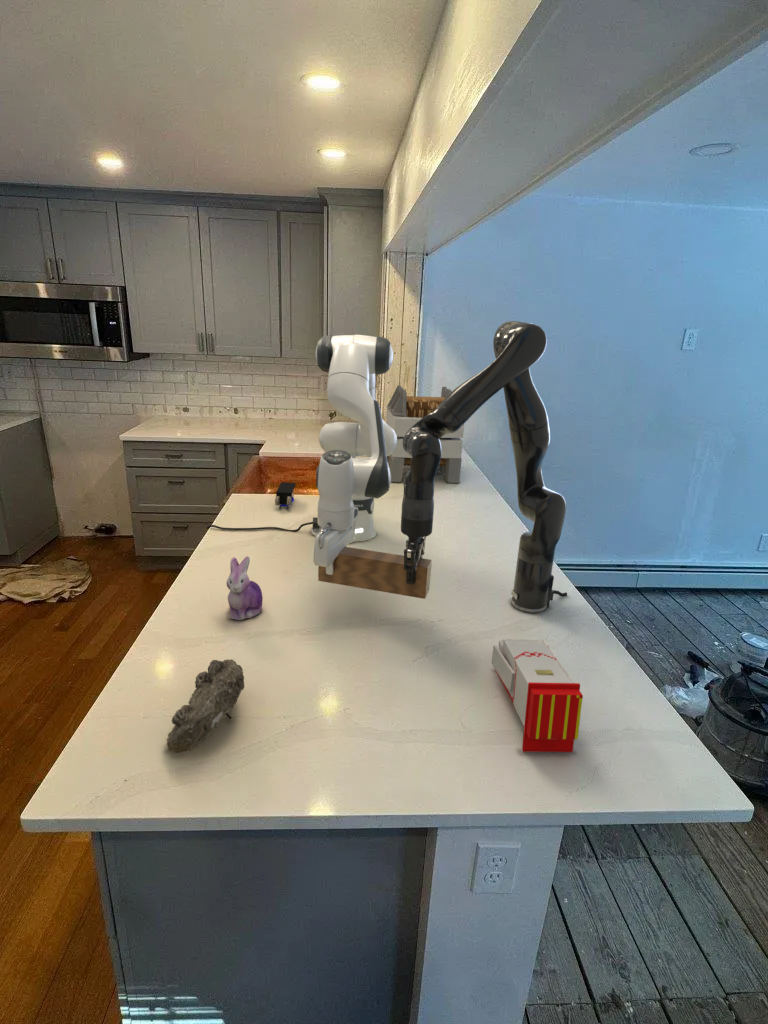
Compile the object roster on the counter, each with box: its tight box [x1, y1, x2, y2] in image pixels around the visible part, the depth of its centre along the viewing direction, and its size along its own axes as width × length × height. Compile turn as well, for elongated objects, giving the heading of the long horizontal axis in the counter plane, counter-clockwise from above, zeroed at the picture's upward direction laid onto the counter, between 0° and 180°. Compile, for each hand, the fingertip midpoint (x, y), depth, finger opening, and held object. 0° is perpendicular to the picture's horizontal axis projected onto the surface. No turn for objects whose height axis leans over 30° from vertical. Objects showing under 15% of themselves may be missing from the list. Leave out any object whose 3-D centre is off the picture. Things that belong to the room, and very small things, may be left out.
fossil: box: [166, 658, 245, 754], centre depth 106 cm, size 22×10×15 cm
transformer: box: [385, 384, 465, 484], centre depth 268 cm, size 34×33×41 cm
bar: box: [317, 546, 433, 600], centre depth 141 cm, size 28×5×8 cm, turn 74°
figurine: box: [226, 555, 264, 621], centre depth 142 cm, size 9×10×15 cm
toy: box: [491, 638, 584, 753], centre depth 114 cm, size 12×13×30 cm
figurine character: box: [274, 481, 297, 510], centre depth 222 cm, size 7×8×15 cm
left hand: (334, 568), depth 144 cm, fingers closed on bar, 5 cm apart
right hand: (413, 578), depth 139 cm, fingers closed on bar, 5 cm apart
